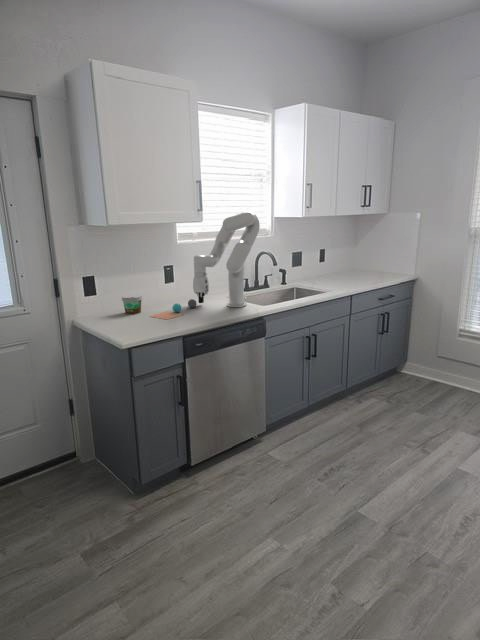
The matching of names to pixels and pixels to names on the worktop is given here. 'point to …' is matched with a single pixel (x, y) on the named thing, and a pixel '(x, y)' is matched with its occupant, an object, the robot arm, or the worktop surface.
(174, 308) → the object ball
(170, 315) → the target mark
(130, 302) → the food container
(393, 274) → the worktop surface
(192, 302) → the grey ball
